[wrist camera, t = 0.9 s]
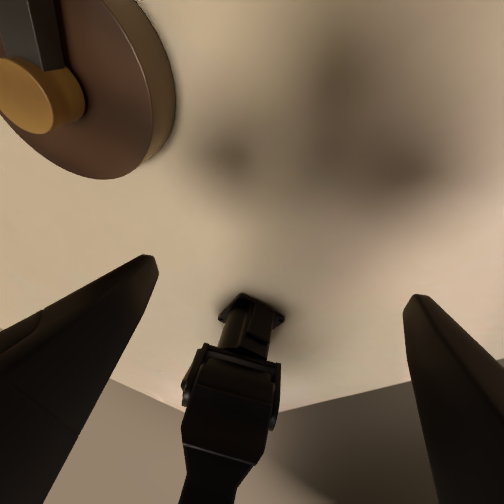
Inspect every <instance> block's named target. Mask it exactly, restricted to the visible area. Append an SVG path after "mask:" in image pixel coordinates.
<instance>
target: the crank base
mask: <svg viewBox="0 0 504 504" xmlns="http://www.w3.org/2000/svg"><path fill="white" fill-rule="evenodd" d="M53 3H54V9H55V14H56V20H57V26H58V32H59V37H60V43H61V49H62V54H63V60H64V65H65V66H66V67H67V68H68V69H69V70H70V71H71V73H72V74H73V75H74V77H75V78H76V80H77V81H78V83H79V85H80V87H81V89H82V92H83V95H84V100H85V110H84V113H83V115H82V117H81V118H80V119H79V120H78V121H75V122H73V123H70V124H68V125H65V126H62V127H60V128H57V129H55V130H52V131H50V132H47V133H45V134H35V133H31V132H28V131H26V130H24V129H22V128H20V127H19V126H17V125H16V124H14V123H13V122H12V121H11V120H10V119H9V118H8V117H7V116H6V115H5V114H4V113H3V112H2V111H1V110H0V115H1V116H2V117H3V118H4V120H5V121H6V122H7V123H8V124H9V125H10V127H11V128H12V129H13V130H14V131H15V132H16V133H17V134H18V135H19V136H20V137H21V138H22V139H23V140H24V141H25V142H26V143H27V144H28V145H30V146H31V147H32V148H33V149H34V150H35V151H37V152H38V153H39V154H41V155H42V156H43V157H45V158H46V159H48V160H49V161H51V162H52V163H54V164H56V165H57V166H59V167H61V168H63V169H65V170H67V171H69V172H72V173H74V174H77V175H80V176H83V177H87V178H92V179H103V180H106V179H115V178H119V177H122V176H124V175H127V174H129V173H130V172H132V171H133V170H134V169H136V168H137V167H138V166H140V165H141V164H142V163H143V162H145V161H146V160H147V159H149V158H150V157H151V156H153V155H154V154H155V153H156V152H158V151H159V149H160V148H161V147H162V146H163V145H164V143H165V142H166V140H167V139H168V136H169V134H170V132H171V129H172V125H173V122H174V115H175V89H174V82H173V77H172V72H171V69H170V65H169V62H168V59H167V56H166V54H165V51H164V49H163V46H162V44H161V42H160V40H159V38H158V36H157V34H156V32H155V30H154V28H153V27H152V25H151V23H150V22H149V20H148V19H147V17H146V16H145V14H144V13H143V11H142V10H141V9H140V7H139V6H138V5H137V4H136V2H135V1H134V0H53ZM2 57H7V56H6V52H5V49H4V46H3V42H2V39H1V36H0V58H2Z"/></svg>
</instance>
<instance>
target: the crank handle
mask: <svg viewBox="0 0 504 504" xmlns="http://www.w3.org/2000/svg"><path fill="white" fill-rule="evenodd" d="M0 36H1V39H2V42H3V46H4V49H5V52H6V56H7V57H2V58H0V110H1V111H2V112H3V113H4V114H5V115H6V116H7V117H8V118H9V119H10V120H11V121H12V122H13V123H14V124H16V125H17V126H19V127H20V128H22V129H24V130H26V131H28V132H31V133H35V134H45V133H47V132H50V131H52V130H55V129H57V128H60V127H62V126H65V125H68V124H70V123H73V122H75V121H78V120H79V119H80V118H81V117H82V115H83V113H84V110H85V100H84V95H83V92H82V89H81V87H80V85H79V83H78V81H77V80H76V78H75V77H74V75H73V74H72V73H71V71H70V70H69V69H68V68H67V67H66V66H65V65H64V60H63V54H62V49H61V43H60V37H59V32H58V26H57V20H56V14H55V9H54V3H53V0H0Z"/></svg>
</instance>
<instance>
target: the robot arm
mask: <svg viewBox="0 0 504 504" xmlns="http://www.w3.org/2000/svg"><path fill="white" fill-rule="evenodd" d="M158 276H159V271H158V268H157V264H156V261H155V258H154V257H153V256H151V255H144V254H143V255H140V256H138V257H136V258H135V259H133V260H131V261H129V262H127V263H125V264H124V265H122V266H120V267H118V268H116V269H115V270H113V271H111V272H109V273H107V274H106V275H104V276H102V277H100V278H98V279H97V280H95V281H93V282H91V283H89V284H87V285H86V286H84V287H82V288H80V289H78V290H77V291H75V292H73V293H71V294H69V295H68V296H66V297H64V298H62V299H60V300H59V301H57V302H55V303H53V304H51V305H49V306H48V307H46V308H44V310H40V311H39V312H37V313H35V314H33V315H31V316H29V317H28V318H26V319H24V320H22V321H20V322H18V323H16V324H14V325H13V326H11V327H9V328H7V329H5V330H3V331H1V332H0V504H43V502H44V500H45V498H46V496H47V494H48V493H49V491H50V489H51V487H52V485H53V483H54V481H55V480H56V478H57V476H58V474H59V472H60V470H61V468H62V466H63V465H64V463H65V461H66V459H67V457H68V455H69V453H70V451H71V450H72V448H73V446H74V444H75V442H76V440H77V438H78V435H79V434H80V432H81V430H82V429H83V427H84V425H85V423H86V421H87V419H88V417H89V415H90V414H91V412H92V410H93V408H94V406H95V404H96V402H97V400H98V398H99V396H100V394H101V393H102V391H103V389H104V387H105V385H106V383H107V382H108V380H109V378H110V376H111V374H112V372H113V370H114V368H115V367H116V365H117V363H118V361H119V359H120V357H121V355H122V353H123V351H124V350H125V348H126V346H127V344H128V342H129V340H130V338H131V336H132V335H133V333H134V331H135V329H136V327H137V325H138V323H139V321H140V320H141V318H142V316H143V314H144V311H145V309H146V307H147V304H148V302H149V299H150V297H151V294H152V292H153V289H154V287H155V284H156V282H157V279H158ZM218 320H219V321H221V322H223V323H225V325H224V328H223V331H222V334H221V337H220V340H219V344H218V347H215V346H212V345H209V344H208V343H204V344H203V346H202V348H201V349H197V352H196V355H195V357H194V360H193V362H192V364H191V366H190V368H189V370H188V371H187V373H186V375H185V377H184V378H183V380H182V383H181V388H182V390H183V400H182V406H184V407H187V408H186V411H185V414H184V418H183V421H182V425H181V434H182V443H183V448H184V455H185V462H186V470H187V476H186V479H185V482H184V486H183V489H182V493H181V496H180V500H179V503H178V504H234V500H235V495H236V491H237V487H238V486H239V485H240V484H241V482H242V481H243V479H244V478H245V477H246V475H247V474H248V472H249V471H250V470H251V468H252V467H253V466H255V465H256V464H257V463H258V461H259V460H260V458H261V456H262V455H263V453H264V449H265V445H266V440H267V434H268V430H269V431H273V429H274V427H275V423H276V420H277V415H278V410H279V403H280V383H281V363H277V362H276V363H274V362H270V361H266V360H267V356H268V349H269V343H270V339H271V333H272V330H274V329H275V328H276V327H278V326H279V325H280V324H282V323H283V322H284V320H285V317H284V316H282V315H281V314H279V313H277V312H275V311H273V310H272V309H270V308H268V307H266V306H264V305H262V304H261V303H259V302H257V301H255V300H253V299H252V298H250V297H248V296H246V295H244V294H240V295H238V296H237V297H236V298H235V299H234V300H233V301H232V302H231V303H230V305H229V306H228V307H227V308H226V309H225V310H224V311H223V312H222V313H221V314H220V315H219V317H218ZM403 324H404V335H405V345H406V355H407V362H408V367H409V372H410V376H411V381H412V385H413V390H414V394H415V398H416V403H417V408H418V412H419V417H420V422H421V426H422V431H423V435H424V440H425V444H426V449H427V453H428V458H429V462H430V467H431V471H432V475H433V480H434V485H435V490H436V494H437V499H438V503H439V504H504V367H503V366H502V365H501V364H499V363H498V362H497V361H496V360H495V359H494V358H493V357H492V356H491V355H490V354H489V353H488V352H487V351H486V350H485V349H484V348H483V347H482V346H481V345H480V344H479V343H478V342H477V341H475V340H474V339H473V338H472V337H471V336H470V335H469V334H468V333H467V332H466V331H465V330H464V329H463V328H462V327H461V326H460V325H459V324H458V323H457V322H456V321H455V320H454V319H452V318H451V317H450V316H449V315H448V314H447V313H446V312H445V311H444V310H443V309H442V308H441V307H440V306H439V305H438V304H437V303H436V302H435V301H434V300H433V299H432V298H430V297H429V296H427V295H420V294H414V295H413V296H412V297H411V298H410V300H409V302H408V303H407V305H406V307H405V308H404V311H403Z"/></svg>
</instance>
